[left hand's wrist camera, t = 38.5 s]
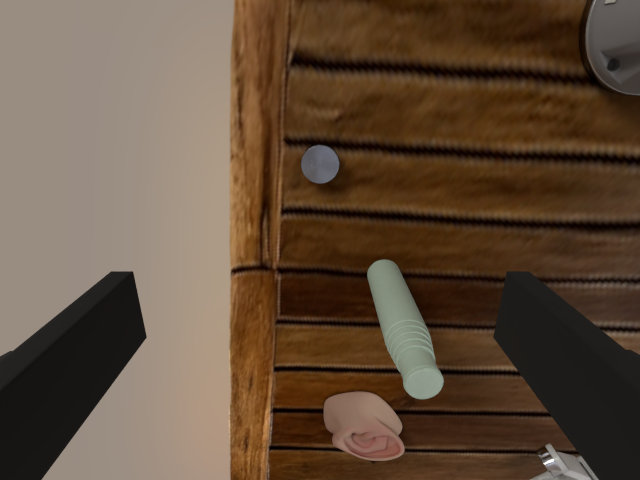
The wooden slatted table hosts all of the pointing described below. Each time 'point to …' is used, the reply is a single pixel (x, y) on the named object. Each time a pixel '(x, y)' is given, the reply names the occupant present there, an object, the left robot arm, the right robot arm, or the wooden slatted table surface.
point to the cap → (320, 163)
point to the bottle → (404, 330)
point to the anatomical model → (364, 426)
